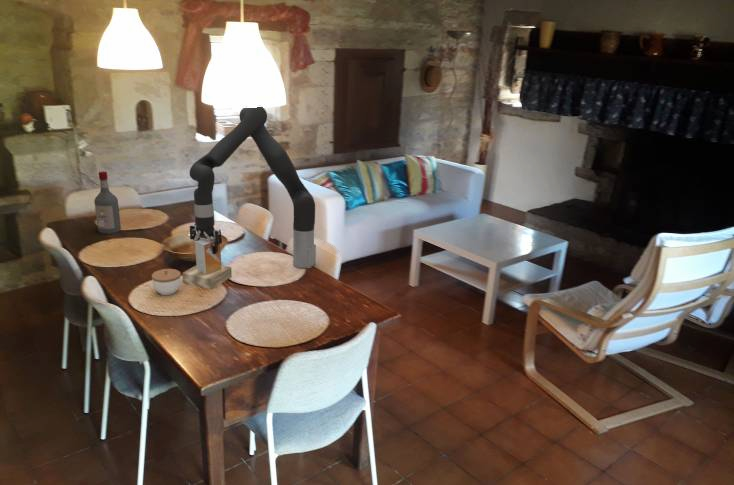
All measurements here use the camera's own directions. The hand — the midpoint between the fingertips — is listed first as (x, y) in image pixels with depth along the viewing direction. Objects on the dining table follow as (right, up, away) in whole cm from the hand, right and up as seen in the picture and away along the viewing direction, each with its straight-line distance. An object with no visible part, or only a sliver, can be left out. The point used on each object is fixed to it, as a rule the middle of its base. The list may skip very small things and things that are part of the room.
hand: (206, 251), depth 235 cm
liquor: (-63, +9, +53) cm, 83 cm away
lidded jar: (-13, -16, -8) cm, 22 cm away
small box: (0, -8, +3) cm, 8 cm away
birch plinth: (-1, -12, +5) cm, 13 cm away
